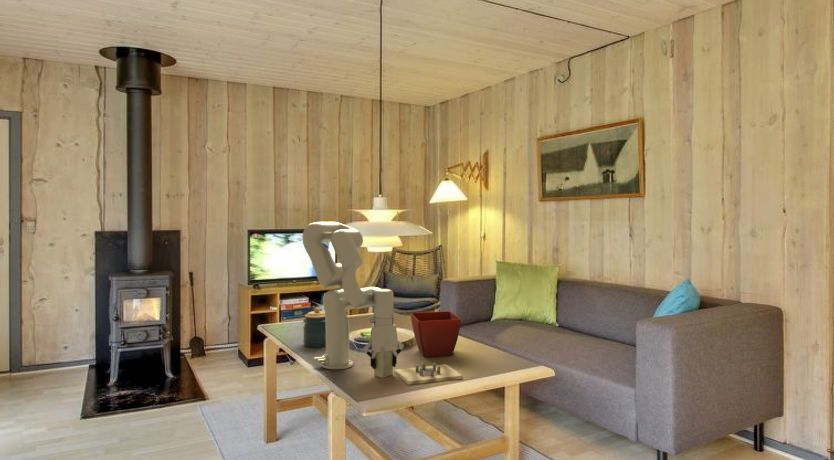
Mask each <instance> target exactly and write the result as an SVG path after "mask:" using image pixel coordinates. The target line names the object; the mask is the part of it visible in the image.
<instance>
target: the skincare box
mask: <svg viewBox="0 0 834 460" xmlns="http://www.w3.org/2000/svg"><path fill="white" fill-rule="evenodd" d="M375 359H376V369H373V370H374V371H373V372H374V373H373V374H374V377H378V378H381V379H383V378H385V377H389V376H392V375H393V373H394V371H393V369H394V367H393V352H392V351H390V352H385V346H381V352H379V353H376V355H375Z"/></svg>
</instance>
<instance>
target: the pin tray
mask: <svg viewBox="0 0 834 460" xmlns="http://www.w3.org/2000/svg"><path fill="white" fill-rule="evenodd" d="M393 373H394V374H395V375H397V376H398V378H399V379H400V380H402V381H403V382H404V383H405V384H406V385H407V386H410V385H418V384H426V383H435V382H444V381H455V380H461V379H462V380H463V379H464V378H463V376H464V375H462V374H461V373H460V372H459V371H457V370H456V369H454V368H452V367H450V366H449V365H448V364H445V363H443V364H437V363H435V362H433V363H432V365H427V366H426V362H424V361H423V362H421V366H420V365H419V364H415V366H414V367H406V368H397V369H394V371H393Z"/></svg>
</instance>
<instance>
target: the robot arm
mask: <svg viewBox="0 0 834 460" xmlns="http://www.w3.org/2000/svg"><path fill="white" fill-rule="evenodd" d="M363 239H364V238H363V235H362V233H361V232H360V231H359V230H358V229H357V228H354V227H351V226H349V225H346V224H343V223H340V222H337V221H316V222H311V223H309V224H307V226H306V227H305V228H304V230H303V232H302V244H303V247H304V249H305V252H306V253H307V255H308V258H309V260H310V262H311V264H312V267H313V270H314V273H315V275H316V278H317V280H318V283H319V284H320V286H321V287H324V288H331V289H329V290H328V291H327V292H325V294H324V295H323V298H322V304H323V305H322V306H323V310H324V312H325V321H326V346H325V353H324V354H323V355H321V356H314V357H313V362H314V363H318V364H319V363H321V367H322V368H324V369H328V370H344V369H349V368H352V367H353V365H354V362H353V360H351V359H350V320H349V317H348V315H347V313H346V311H348V310H353V309H363V308H368V307H369V308H370V307H373V317H372V318H371V319H369V321H370V324H372V325H371V330H370V337H369V342H368V343H366V344H365V345H364V346H363V347H362V350H363V351H364V352H365V354H366V355H368V356H369V358H370V367H371V368H372V369H373V370H374V369H376V359H375V355H376V353H379V352H381V346H385V352H390V351H392V352H393V368H396V365H397V363H398V362H397V361H398V358H397V357H398V356H399V354H400V353H401V352H402V350H403V349H404V347H405V344H403V343H402V342H401V341H399V340H398V331H397V326H396V324H395V323H394V291H393V290H392V289H390V288H380V287H377V286H367V287H360V285H359V283H358V281H357V277H356V273H357V270H358V269H359V268H360V267H361V266H362V265H363V263H364V260H363V258H362V256H361V254H360V251H359V249H360V248H361V247H362V245H363V241H364V240H363ZM330 242H331V246H332V247H333V250H334V252H335V254H336V256H337V259H338V260H339V262H337V263H336V262H335V261H334V260H333V257H332V254H331V252H330V250H329V249H328V248H327V246H325V245H324V244H323V243H330ZM333 287H336V288H333ZM369 348H370V350H371V352H370V351H369Z"/></svg>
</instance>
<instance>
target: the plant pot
mask: <svg viewBox="0 0 834 460" xmlns="http://www.w3.org/2000/svg"><path fill="white" fill-rule="evenodd" d="M410 320H411V325H412V330H413V335H414V338H415V339H414V340H415V341H416V346H417V349H418V351H419V352H420V353H421V355H422V356H423V357H424V358H432V357H433V358H434V357H450V356H452V355H454V351H455V348H456V346H457V342H458V338H459V334H460V328H461V322H462V319H461V318H460V317H459V316H457V315H456V314H454V313H453V312H452V311H450V310H447V311H425V312H424V311H423V312H421V311H420V312H410Z"/></svg>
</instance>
